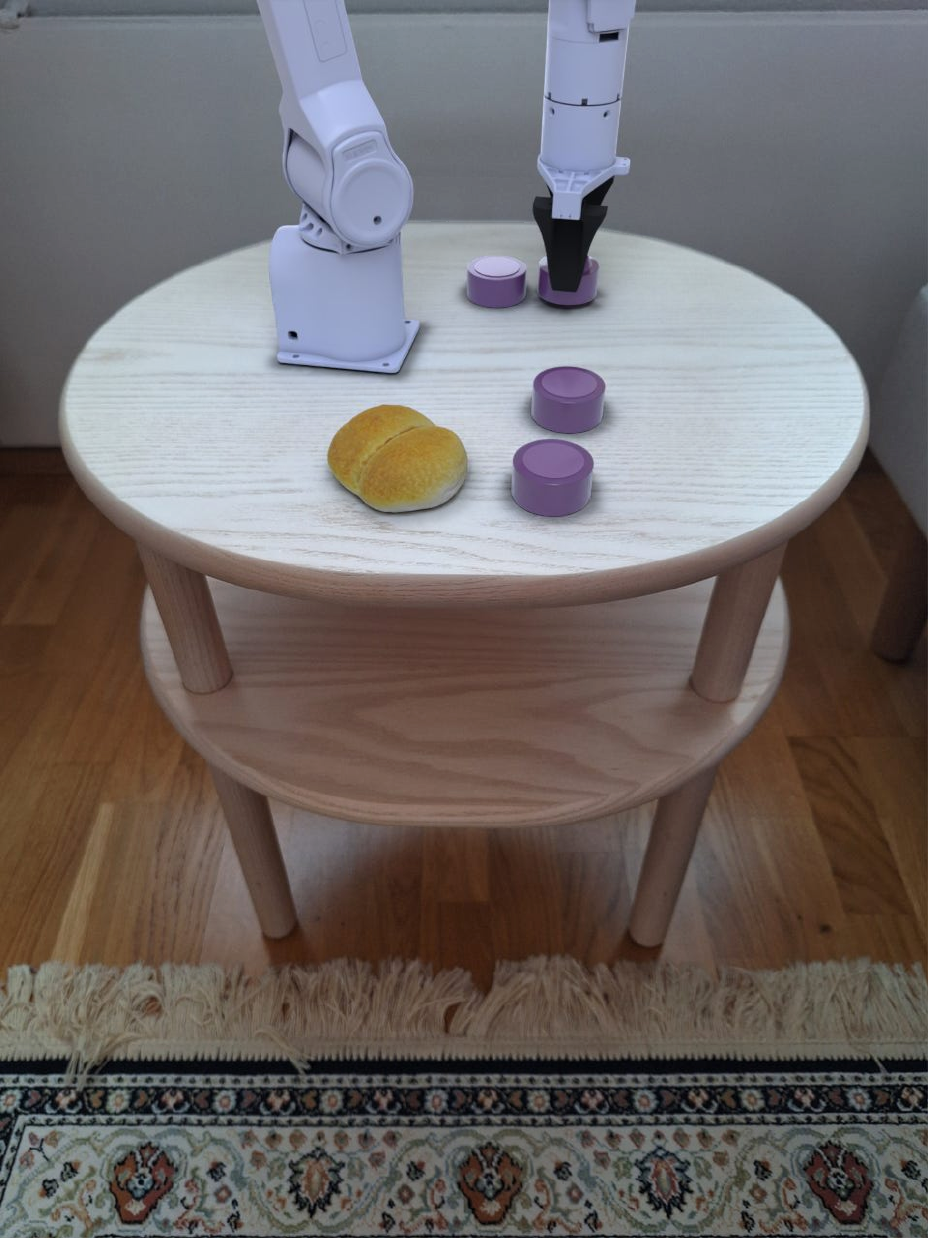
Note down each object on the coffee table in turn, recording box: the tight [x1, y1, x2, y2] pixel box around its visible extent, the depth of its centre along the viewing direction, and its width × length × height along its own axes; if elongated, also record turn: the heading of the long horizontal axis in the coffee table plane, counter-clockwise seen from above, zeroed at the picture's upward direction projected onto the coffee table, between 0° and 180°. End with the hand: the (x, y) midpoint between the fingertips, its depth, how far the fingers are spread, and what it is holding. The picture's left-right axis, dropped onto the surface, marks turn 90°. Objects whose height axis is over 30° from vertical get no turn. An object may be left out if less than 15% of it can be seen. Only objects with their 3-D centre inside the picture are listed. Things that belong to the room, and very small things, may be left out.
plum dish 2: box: [530, 365, 607, 434], centre depth 66 cm, size 5×5×2 cm
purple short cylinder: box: [466, 254, 528, 309], centre depth 80 cm, size 5×5×2 cm
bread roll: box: [326, 404, 469, 514], centre depth 60 cm, size 8×9×4 cm
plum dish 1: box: [536, 255, 600, 306], centre depth 79 cm, size 5×5×2 cm
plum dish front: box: [510, 438, 595, 517], centre depth 59 cm, size 5×5×2 cm
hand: (568, 275), depth 79 cm, fingers closed on plum dish 1, 5 cm apart
